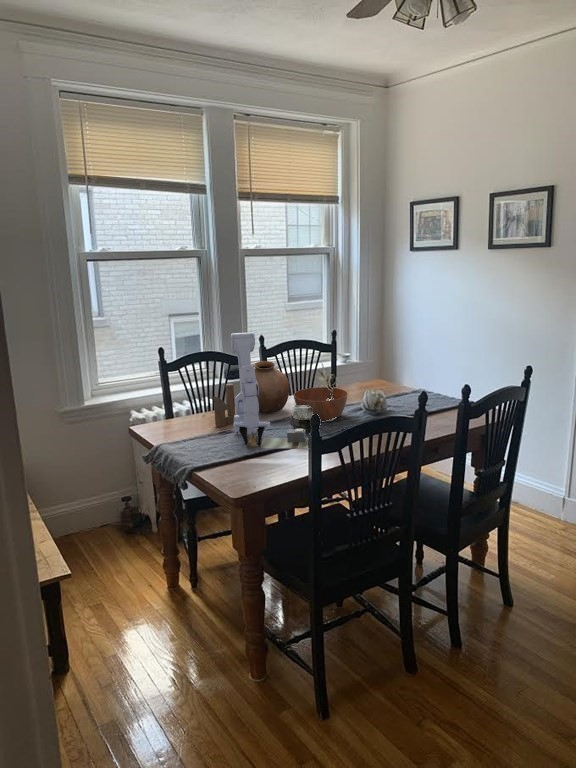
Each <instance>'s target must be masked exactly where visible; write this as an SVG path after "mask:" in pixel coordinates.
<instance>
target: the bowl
mask: <svg viewBox="0 0 576 768" xmlns="http://www.w3.org/2000/svg"><path fill="white" fill-rule="evenodd" d="M332 388H333V398H334V400H330V401H326V399H327V398H329V399H331V395H330V391H329V390H328V388H327V386H321V387H320V386H319V387H308V388H303V389H300V390H298V391H295V392H294V393H293V398H294V399H293V400H294V403H295V406H296V405H309V406H311V407H312V408H313V414H318V415H319V417H320V419H321V422H320V423H323V422H322V421H326V420H329V419H332V418H335V417H339V416H340V417H341V416H342V415H343V412H344V411H345V407H346V404H347V401H348V394H349V393H348V391H346V390H345V389H341V388H339V387H337V388H336V387H332ZM340 417H339V418H340Z"/></svg>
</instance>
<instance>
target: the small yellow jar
mask: <svg viewBox="0 0 576 768" xmlns="http://www.w3.org/2000/svg"><path fill="white" fill-rule="evenodd" d="M247 438H248V447H249V448H256V447H258V446H259V445H258V435H255V433H254V434H253V432H251V434H250V435H247Z"/></svg>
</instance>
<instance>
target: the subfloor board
mask: <svg viewBox="0 0 576 768" xmlns="http://www.w3.org/2000/svg"><path fill="white" fill-rule="evenodd" d="M308 438H309V437H306V439H305V442H287V437H283V438H282V437H264V438H263V439H262V440H261V445H259V449H309V448H308Z"/></svg>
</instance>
